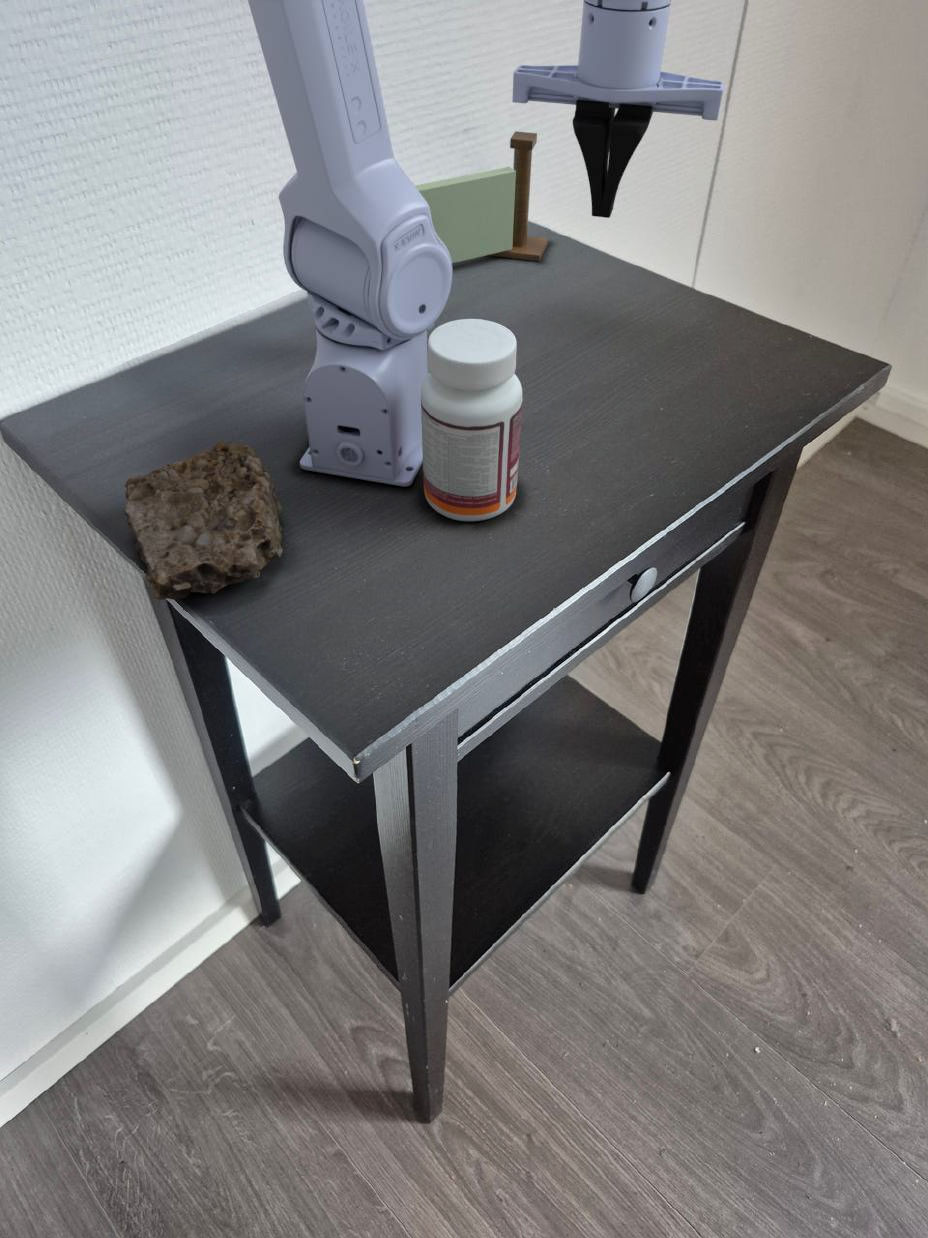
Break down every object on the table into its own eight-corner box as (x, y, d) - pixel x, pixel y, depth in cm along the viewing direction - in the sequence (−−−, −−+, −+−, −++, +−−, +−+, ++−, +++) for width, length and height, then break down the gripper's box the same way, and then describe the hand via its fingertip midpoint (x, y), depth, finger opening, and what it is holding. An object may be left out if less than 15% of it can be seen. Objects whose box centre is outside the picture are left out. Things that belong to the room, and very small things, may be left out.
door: (394, 282, 79) (390, 201, 74) (384, 272, 80) (379, 192, 75) (517, 253, 83) (522, 174, 78) (505, 244, 84) (509, 166, 79)
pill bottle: (475, 457, 62) (479, 303, 54) (535, 500, 59) (548, 343, 51) (405, 491, 59) (397, 334, 51) (463, 538, 56) (464, 378, 48)
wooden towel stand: (539, 261, 84) (547, 145, 76) (487, 255, 85) (490, 140, 77) (547, 243, 86) (556, 130, 79) (497, 238, 87) (501, 125, 80)
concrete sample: (243, 407, 57) (248, 464, 61) (83, 454, 53) (100, 512, 57) (326, 530, 52) (326, 583, 56) (157, 593, 48) (170, 645, 52)
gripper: (741, -6, 60) (701, 202, 70) (531, -19, 63) (521, 183, 72) (736, 20, 55) (694, 238, 65) (509, 4, 58) (501, 216, 68)
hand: (602, 211), depth 68 cm, fingers closed
